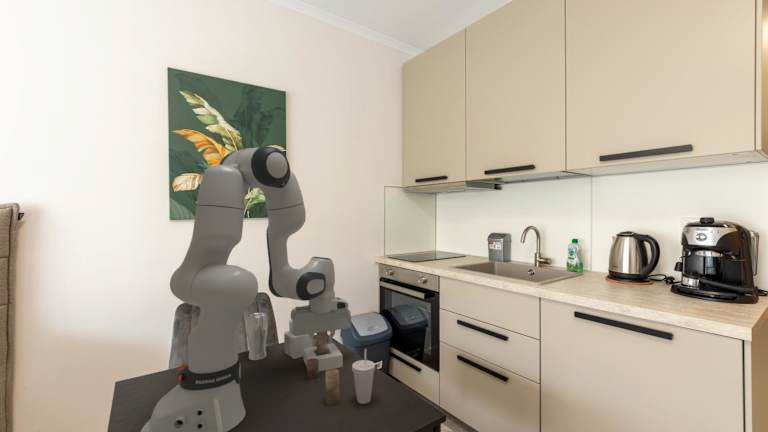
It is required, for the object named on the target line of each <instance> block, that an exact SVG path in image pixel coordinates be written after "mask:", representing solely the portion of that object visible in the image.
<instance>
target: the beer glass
mask: <svg viewBox="0 0 768 432" xmlns="http://www.w3.org/2000/svg"><path fill="white" fill-rule="evenodd" d="M268 325H269V324H268V314H267V313H266V312H253V313H250V314H248V315H247V319H246V335H247V340H248V345H249V351H248V359H249V360H250V361H260V360H263V359H265V358H266V357H267V355H268V354H267V351H266V342H267V341H266V340H267V337H268V327H269V326H268Z"/></svg>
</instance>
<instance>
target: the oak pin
mask: <svg viewBox="0 0 768 432" xmlns="http://www.w3.org/2000/svg"><path fill="white" fill-rule="evenodd" d="M339 402H340V371H339V370H338V368H335V369H329V370H325V403H326V405H329V406H335V405H337V404H339Z"/></svg>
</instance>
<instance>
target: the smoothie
mask: <svg viewBox="0 0 768 432" xmlns="http://www.w3.org/2000/svg"><path fill="white" fill-rule="evenodd" d="M363 354H364V355H363V356H364V359H361V360H360V359H359V360H356V361H355V362H353V363H352V365H351V366H352V367H351V370H352V373H353V379H354V388H355V396H356V401H357V403H359V404H360V405H361V404H362V405H363V404H364V405H365V404H368V403H370V402H371V399H372V391H373V390H372V389H373V381H374V374H375V373H374V372H375V370H376V364H375V362H374V361H372V360H368V359H367V348H364V353H363Z"/></svg>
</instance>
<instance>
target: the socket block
mask: <svg viewBox="0 0 768 432" xmlns="http://www.w3.org/2000/svg"><path fill="white" fill-rule="evenodd" d="M343 355H344V354H342V352H341V351H340V350H339V348H338V347H337V346H336V344H335V343H333V342H332V343H330V344H327V354H325V355H319V356H317V346H313V347H309V348H303V356H302V358H303V359H302V360H303V362H304V364H305V366H306V368H307V360H309V359H313V358H315V359H318V360H319V373H320V372H323V371H325V372H326V371H327V370H329V369H339V368H343V367H344V365H343V362H344V361H343V359H344V358H343Z"/></svg>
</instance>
